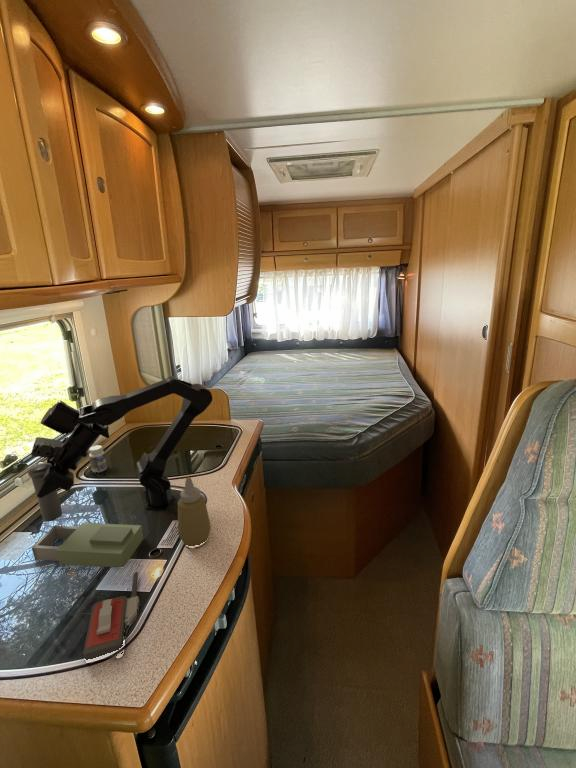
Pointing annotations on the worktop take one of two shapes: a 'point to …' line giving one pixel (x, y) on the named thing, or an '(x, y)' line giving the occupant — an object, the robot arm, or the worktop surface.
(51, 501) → the grey domed pawn
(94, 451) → the pill bottle
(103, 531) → the green stepped slab
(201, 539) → the squeeze bottle
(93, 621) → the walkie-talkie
